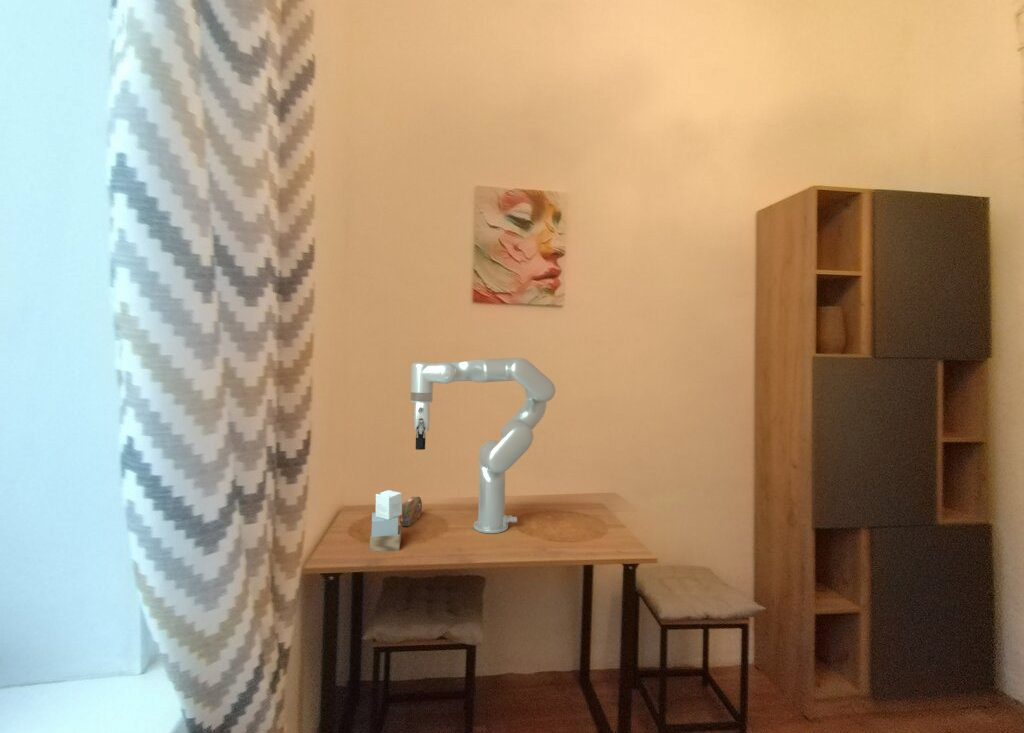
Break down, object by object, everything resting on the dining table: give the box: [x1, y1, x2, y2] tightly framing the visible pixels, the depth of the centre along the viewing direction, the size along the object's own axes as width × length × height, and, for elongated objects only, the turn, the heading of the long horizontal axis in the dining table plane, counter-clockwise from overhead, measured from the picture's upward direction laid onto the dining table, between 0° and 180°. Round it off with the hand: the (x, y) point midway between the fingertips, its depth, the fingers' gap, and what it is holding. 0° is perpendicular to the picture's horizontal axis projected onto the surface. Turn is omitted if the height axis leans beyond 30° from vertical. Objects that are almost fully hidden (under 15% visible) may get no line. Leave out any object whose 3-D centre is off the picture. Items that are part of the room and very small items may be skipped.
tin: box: [399, 496, 423, 527], centre depth 166 cm, size 15×3×8 cm, turn 168°
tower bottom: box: [369, 524, 402, 552], centre depth 144 cm, size 9×9×5 cm
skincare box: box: [375, 489, 403, 520], centre depth 144 cm, size 6×6×7 cm
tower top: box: [370, 511, 399, 537], centre depth 144 cm, size 8×8×5 cm
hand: (420, 446), depth 155 cm, fingers open, 9 cm apart
